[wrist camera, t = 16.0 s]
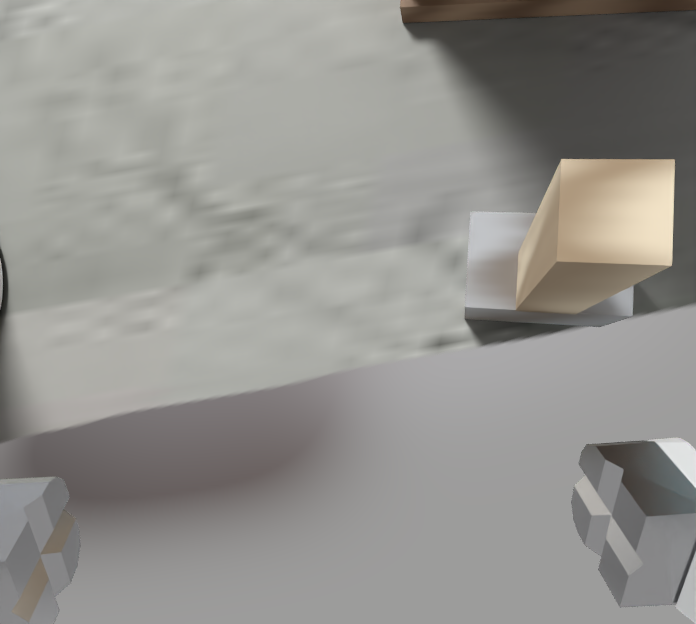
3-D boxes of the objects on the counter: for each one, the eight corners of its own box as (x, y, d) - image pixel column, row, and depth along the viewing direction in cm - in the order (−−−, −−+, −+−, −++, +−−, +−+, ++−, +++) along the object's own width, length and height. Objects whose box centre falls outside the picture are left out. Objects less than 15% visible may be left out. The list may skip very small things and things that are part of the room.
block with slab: (466, 258, 15) (475, 91, 15) (464, 319, 32) (469, 240, 32) (777, 269, 13) (778, 85, 14) (599, 326, 30) (603, 244, 31)
